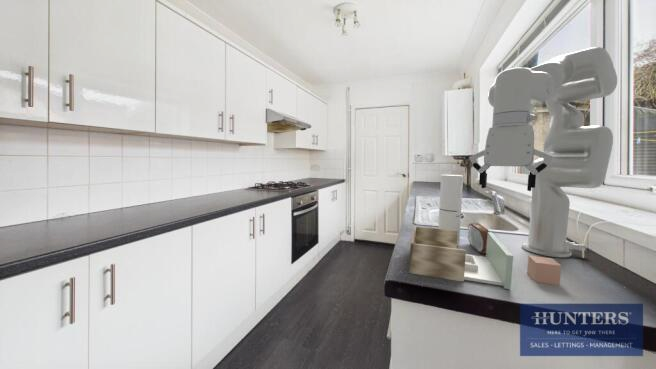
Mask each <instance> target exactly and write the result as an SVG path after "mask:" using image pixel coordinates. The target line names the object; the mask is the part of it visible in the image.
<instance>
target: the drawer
mask: <svg viewBox="0 0 656 369" xmlns="http://www.w3.org/2000/svg"><path fill="white" fill-rule="evenodd" d="M513 263H514V255H513V254H512V253H511V252H510V251H509V249H507V247H506V246H505V245H504V244H503V243H502V242H501V241H500V240H499V239H498V237H497V236H496V235H495V234H494V232H491V231H489V232H487V247H486V254H485V256H484V255H476V254H475V255H474V254H467V253H466V256H465V272H464V281H471V282H475V283H484V284H489V285H495V286H502V287H503V289H507V290H511V289H512V278H513V276H512V275H513Z"/></svg>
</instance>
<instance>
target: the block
mask: <svg viewBox="0 0 656 369" xmlns="http://www.w3.org/2000/svg"><path fill="white" fill-rule="evenodd" d="M526 270H527V272H526V274H527V275H528V276H529V277H530V279H531V280H532V281H533V282H535V283H544V284H549V285H550V284H551V285H556V286H560V283H561V275H562V274H561V273H562V265H561V264H560V263H558V262H557V261H556V260H555V259H554V258H552V257H551V258H550V257H545V256H544V257H543V256H535V255H528V260H527V269H526Z"/></svg>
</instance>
